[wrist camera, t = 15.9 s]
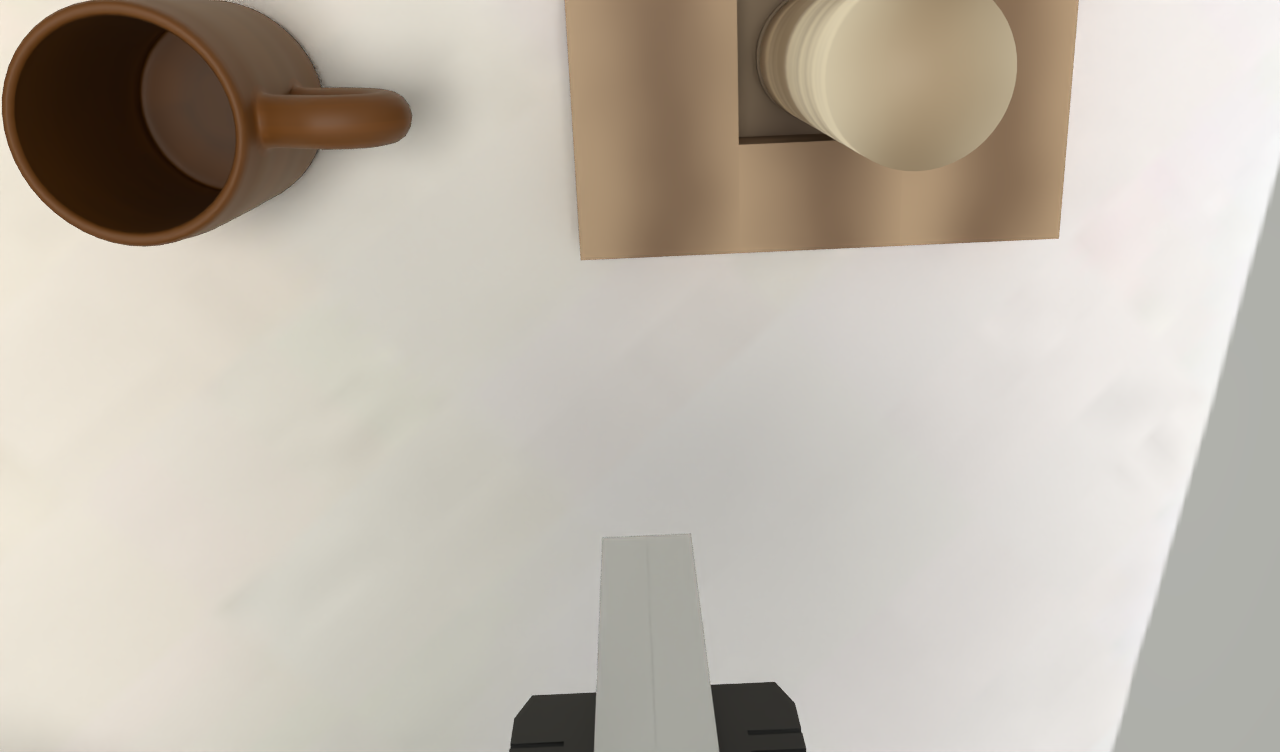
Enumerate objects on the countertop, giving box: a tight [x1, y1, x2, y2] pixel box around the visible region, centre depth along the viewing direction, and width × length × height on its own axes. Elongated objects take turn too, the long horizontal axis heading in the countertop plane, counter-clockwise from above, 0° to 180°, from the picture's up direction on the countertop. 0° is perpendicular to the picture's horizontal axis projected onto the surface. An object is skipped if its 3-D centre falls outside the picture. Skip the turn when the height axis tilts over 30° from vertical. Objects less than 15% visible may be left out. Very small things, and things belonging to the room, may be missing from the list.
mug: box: [2, 0, 412, 246], centre depth 37 cm, size 12×8×9 cm, turn 91°
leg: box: [756, 0, 1017, 171], centre depth 33 cm, size 5×5×16 cm
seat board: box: [565, 0, 1079, 260], centre depth 39 cm, size 18×14×3 cm
